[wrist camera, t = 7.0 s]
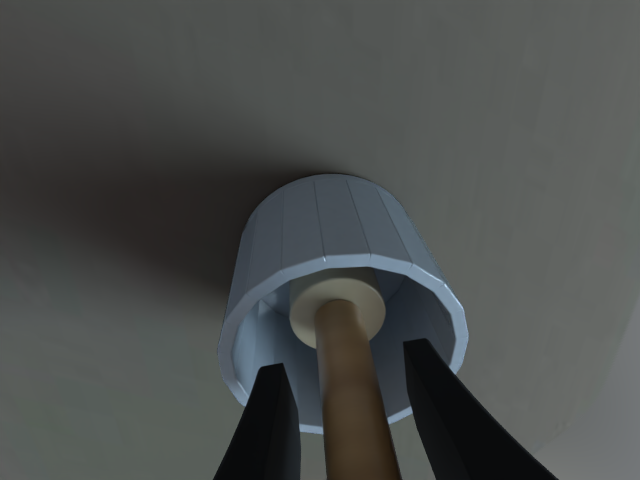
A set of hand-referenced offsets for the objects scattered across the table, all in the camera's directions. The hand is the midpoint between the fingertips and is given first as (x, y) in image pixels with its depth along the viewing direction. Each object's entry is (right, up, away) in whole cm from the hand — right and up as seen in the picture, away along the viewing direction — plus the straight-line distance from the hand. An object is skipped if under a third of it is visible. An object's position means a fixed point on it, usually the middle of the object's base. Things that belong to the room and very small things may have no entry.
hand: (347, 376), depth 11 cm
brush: (0, +3, +5) cm, 6 cm away
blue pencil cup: (0, +3, +5) cm, 6 cm away
